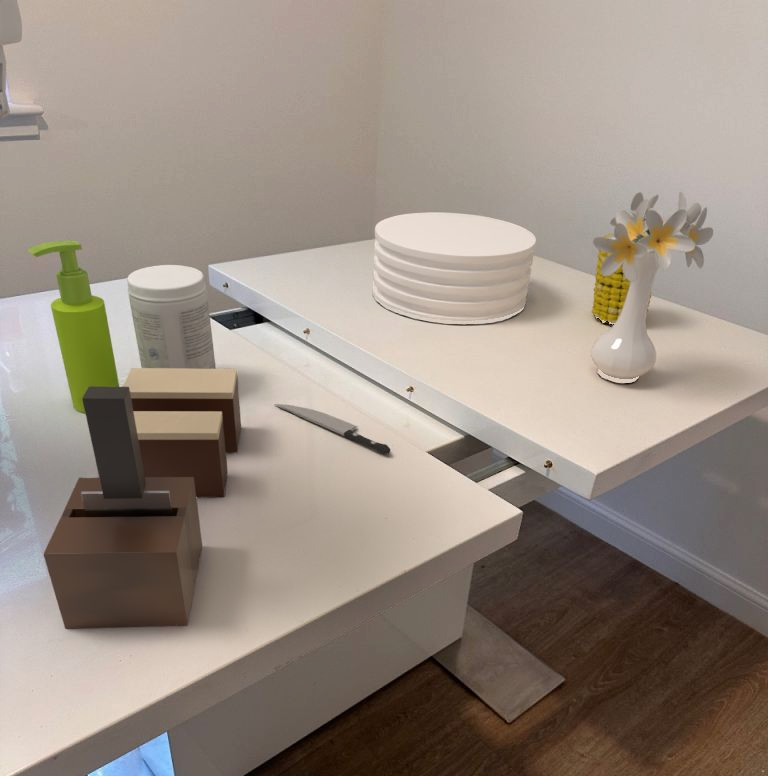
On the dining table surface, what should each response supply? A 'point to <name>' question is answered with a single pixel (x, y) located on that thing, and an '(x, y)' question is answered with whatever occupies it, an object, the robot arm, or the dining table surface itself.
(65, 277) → the soap dispenser
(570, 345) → the dining table surface
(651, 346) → the flower vase
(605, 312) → the food
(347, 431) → the chef's knife
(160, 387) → the cake
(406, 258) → the plate stack
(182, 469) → the cake slice
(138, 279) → the supplement tub
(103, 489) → the knife
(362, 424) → the dining table surface
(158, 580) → the knife block
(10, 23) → the robot arm
